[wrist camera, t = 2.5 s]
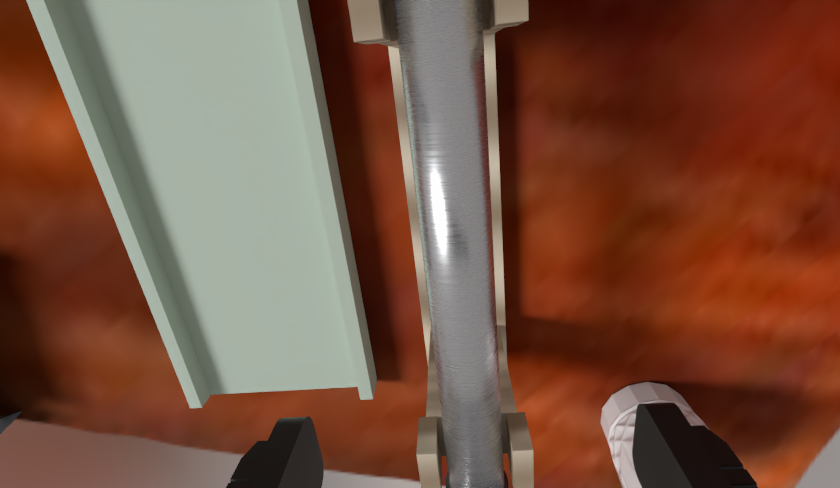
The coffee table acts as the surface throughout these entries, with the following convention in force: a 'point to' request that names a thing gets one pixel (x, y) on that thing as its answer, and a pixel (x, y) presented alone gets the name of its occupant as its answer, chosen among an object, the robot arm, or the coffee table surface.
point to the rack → (378, 25)
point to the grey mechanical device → (8, 420)
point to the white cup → (622, 422)
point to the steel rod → (455, 225)
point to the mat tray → (220, 184)
